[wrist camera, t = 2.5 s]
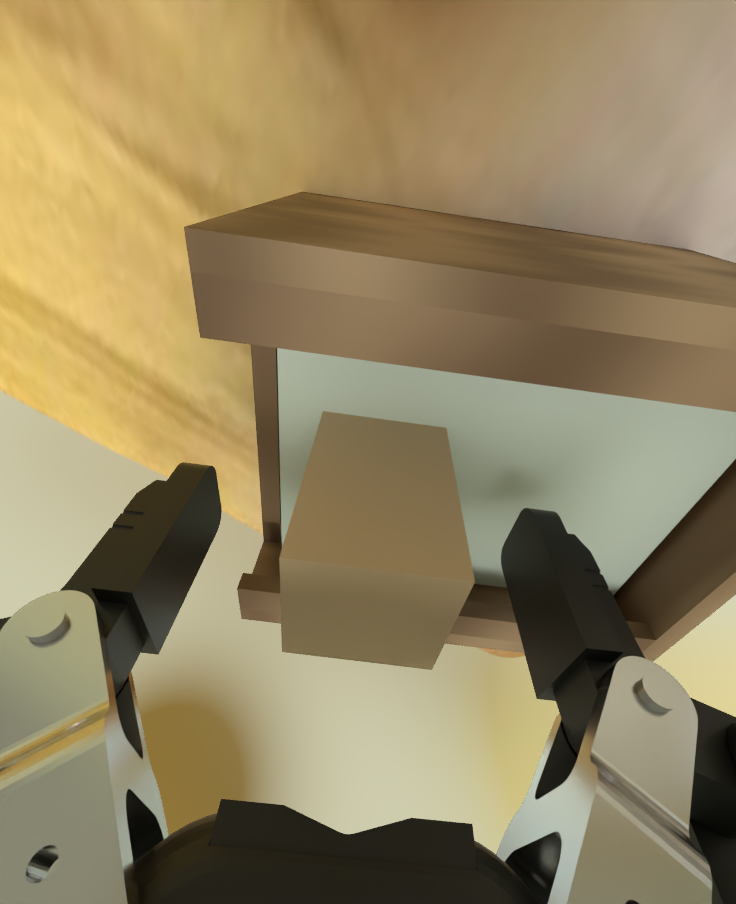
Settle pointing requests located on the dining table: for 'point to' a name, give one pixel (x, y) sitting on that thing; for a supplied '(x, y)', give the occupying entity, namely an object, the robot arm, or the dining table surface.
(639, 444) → the lid
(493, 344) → the walnut box
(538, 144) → the dining table surface
